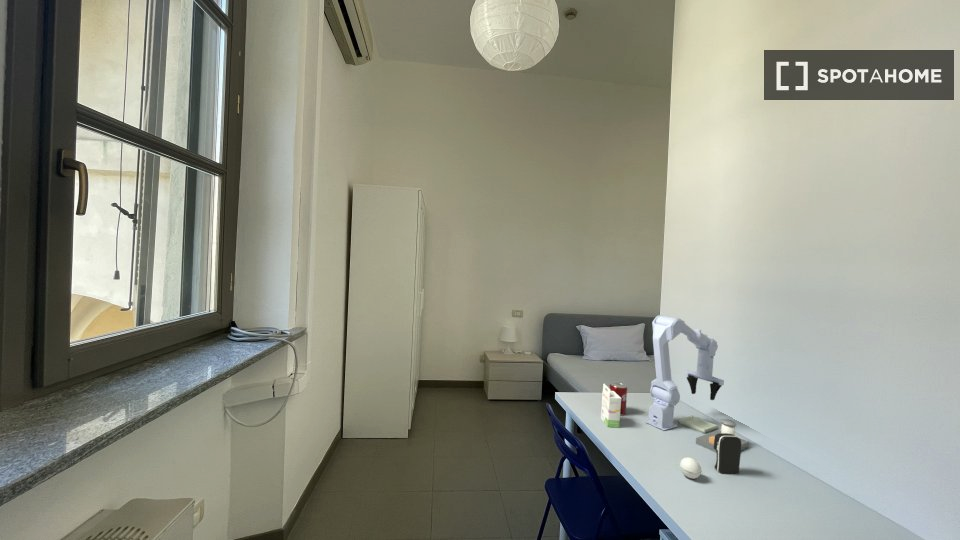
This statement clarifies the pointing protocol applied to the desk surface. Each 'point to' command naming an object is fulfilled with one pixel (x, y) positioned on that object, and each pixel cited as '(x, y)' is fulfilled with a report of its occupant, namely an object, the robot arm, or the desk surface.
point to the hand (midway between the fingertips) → (702, 396)
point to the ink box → (610, 408)
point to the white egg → (690, 468)
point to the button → (711, 439)
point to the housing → (705, 443)
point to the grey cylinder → (728, 426)
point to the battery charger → (727, 453)
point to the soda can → (620, 394)
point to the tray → (698, 424)
